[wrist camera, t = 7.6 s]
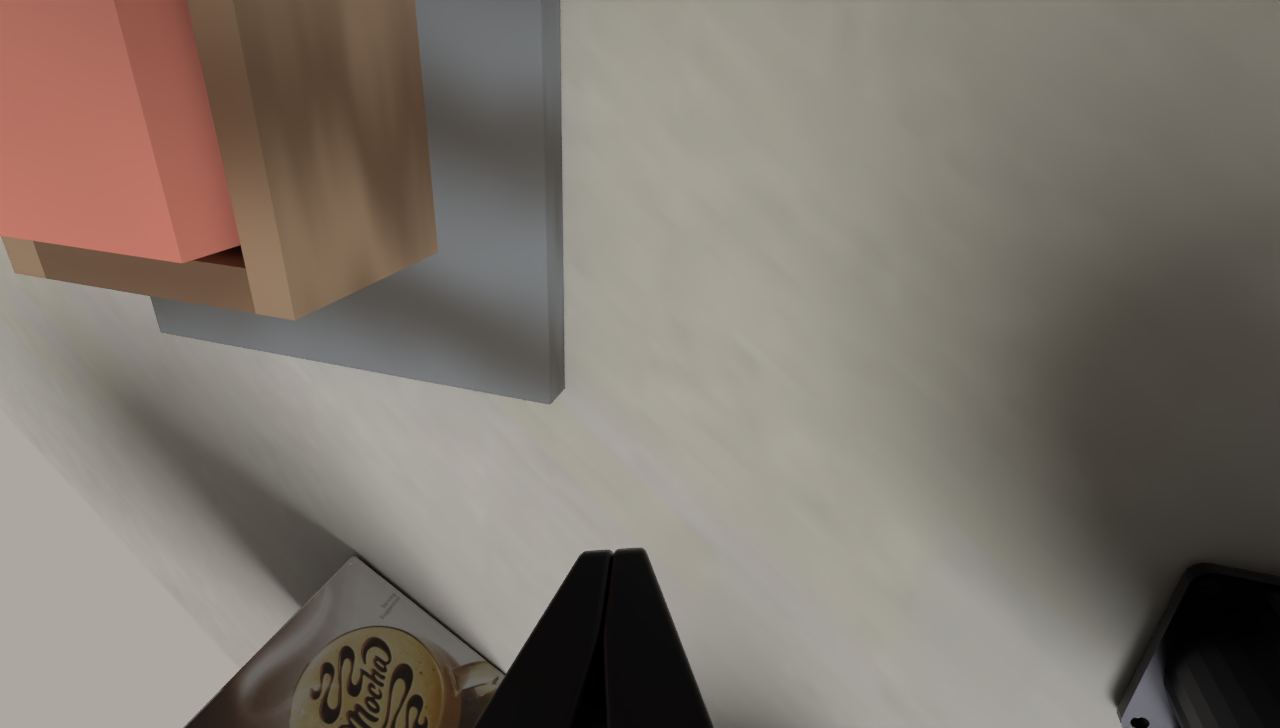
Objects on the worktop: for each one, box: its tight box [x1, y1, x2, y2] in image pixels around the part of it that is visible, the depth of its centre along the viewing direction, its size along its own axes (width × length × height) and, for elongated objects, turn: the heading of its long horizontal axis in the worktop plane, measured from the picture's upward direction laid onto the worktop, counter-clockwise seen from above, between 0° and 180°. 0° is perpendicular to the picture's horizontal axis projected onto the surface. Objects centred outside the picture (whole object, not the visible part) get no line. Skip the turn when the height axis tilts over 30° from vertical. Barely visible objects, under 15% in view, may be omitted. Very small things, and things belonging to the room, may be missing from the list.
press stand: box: [1, 0, 565, 404], centre depth 18 cm, size 18×16×7 cm
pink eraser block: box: [0, 0, 241, 263], centre depth 16 cm, size 6×6×6 cm
